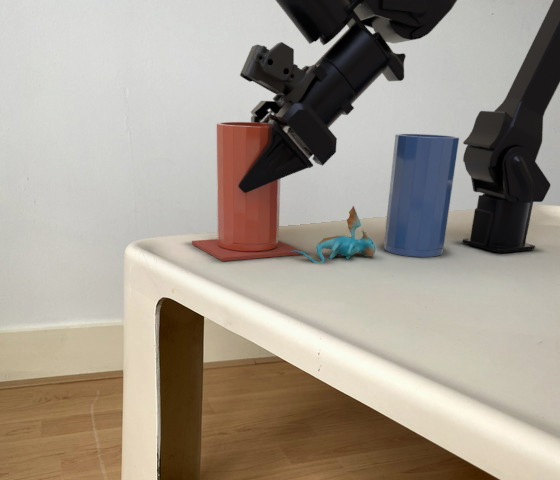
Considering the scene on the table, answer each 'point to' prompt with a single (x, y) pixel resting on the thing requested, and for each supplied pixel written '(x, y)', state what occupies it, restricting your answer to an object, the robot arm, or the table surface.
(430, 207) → the blue cup
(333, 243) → the dragon figurine
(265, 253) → the red mat
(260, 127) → the red cup
